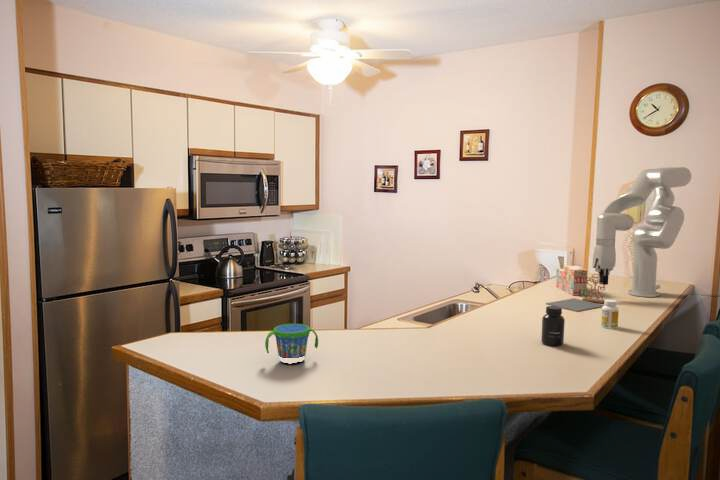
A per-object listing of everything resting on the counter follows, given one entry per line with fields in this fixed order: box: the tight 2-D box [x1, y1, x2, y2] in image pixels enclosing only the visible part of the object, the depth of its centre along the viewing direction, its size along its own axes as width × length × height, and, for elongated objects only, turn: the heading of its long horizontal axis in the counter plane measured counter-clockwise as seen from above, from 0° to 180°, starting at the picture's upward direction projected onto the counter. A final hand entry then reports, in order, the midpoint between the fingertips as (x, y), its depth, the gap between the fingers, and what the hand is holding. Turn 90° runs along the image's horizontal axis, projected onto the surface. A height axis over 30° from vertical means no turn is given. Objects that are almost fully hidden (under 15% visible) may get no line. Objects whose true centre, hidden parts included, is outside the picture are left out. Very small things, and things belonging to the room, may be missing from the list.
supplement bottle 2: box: [600, 299, 619, 330], centre depth 192 cm, size 5×5×10 cm
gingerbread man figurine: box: [581, 273, 606, 304], centre depth 232 cm, size 9×4×12 cm, turn 50°
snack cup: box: [264, 323, 319, 358], centre depth 158 cm, size 16×10×10 cm
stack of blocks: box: [556, 265, 588, 297], centre depth 255 cm, size 21×6×12 cm, turn 0°
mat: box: [545, 298, 605, 313], centre depth 227 cm, size 18×16×1 cm
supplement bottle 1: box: [540, 305, 565, 347], centre depth 173 cm, size 7×7×12 cm
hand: (603, 284), depth 235 cm, fingers closed
